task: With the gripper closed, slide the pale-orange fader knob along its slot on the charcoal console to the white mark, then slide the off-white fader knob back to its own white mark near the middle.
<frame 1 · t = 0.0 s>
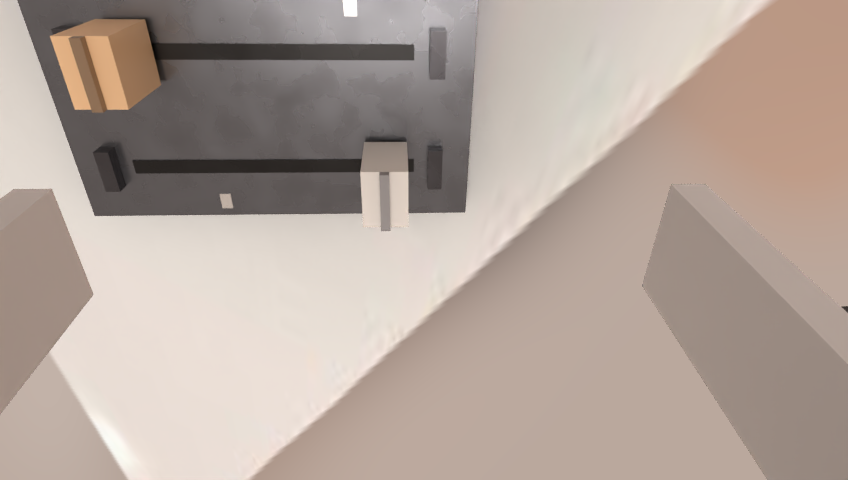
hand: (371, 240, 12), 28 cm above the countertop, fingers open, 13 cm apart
fader b: (385, 184, 36), point 5 cm above the countertop, slide at 8.0 cm
console: (273, 102, 38), on the countertop
fader a: (109, 63, 31), point 5 cm above the countertop, slide at -8.0 cm
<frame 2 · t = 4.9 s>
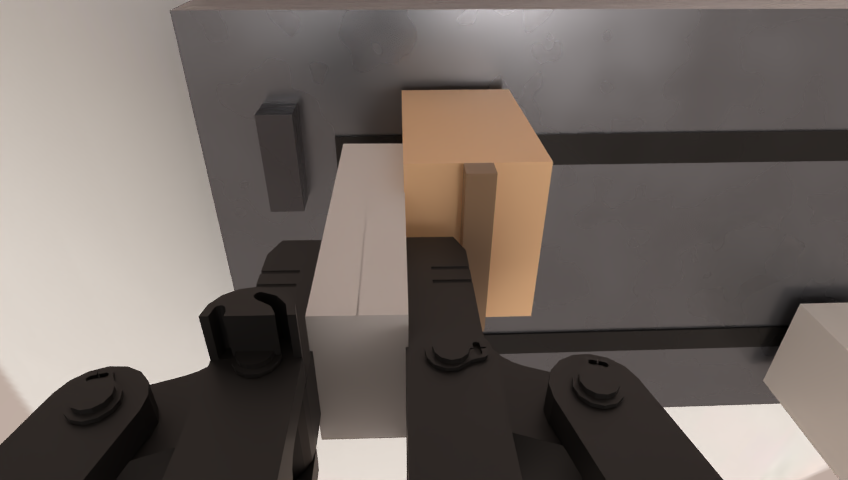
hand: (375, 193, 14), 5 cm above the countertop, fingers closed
console: (612, 225, 20), on the countertop
fader a: (462, 199, 14), point 5 cm above the countertop, slide at -6.5 cm, touching gripper
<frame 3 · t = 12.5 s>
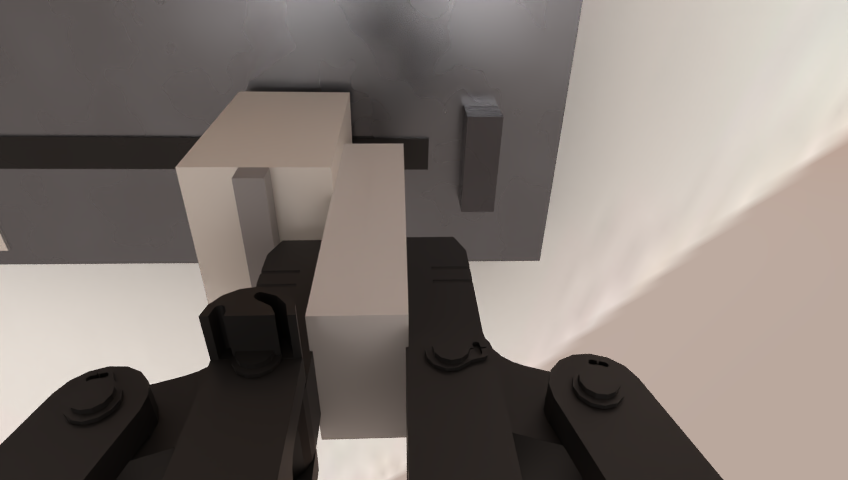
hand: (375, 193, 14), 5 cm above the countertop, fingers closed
fader b: (285, 203, 13), point 5 cm above the countertop, slide at 6.2 cm, touching gripper
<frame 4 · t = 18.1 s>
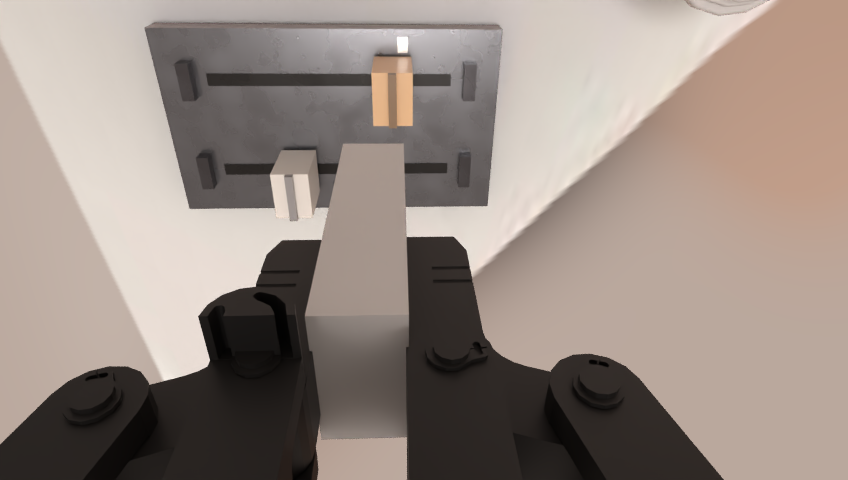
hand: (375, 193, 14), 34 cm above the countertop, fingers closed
fader b: (296, 184, 46), point 5 cm above the countertop, slide at -3.2 cm
console: (336, 118, 48), on the countertop
fader a: (392, 91, 42), point 5 cm above the countertop, slide at 5.2 cm
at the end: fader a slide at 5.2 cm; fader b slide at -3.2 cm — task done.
